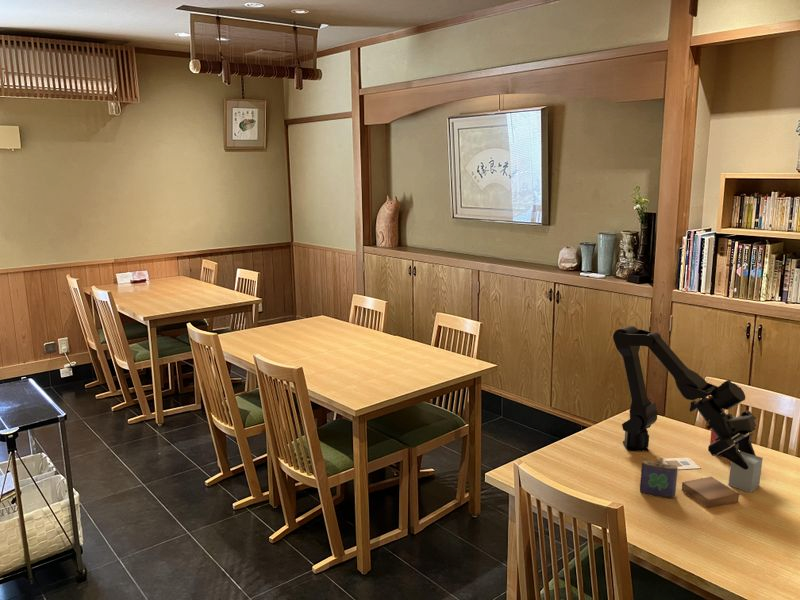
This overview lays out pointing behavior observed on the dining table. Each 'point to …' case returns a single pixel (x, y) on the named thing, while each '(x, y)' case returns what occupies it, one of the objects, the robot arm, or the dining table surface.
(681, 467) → the page
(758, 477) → the tower block
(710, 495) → the base brick
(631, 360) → the robot arm
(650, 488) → the flask
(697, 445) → the dining table surface
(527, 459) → the dining table surface
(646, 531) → the dining table surface
